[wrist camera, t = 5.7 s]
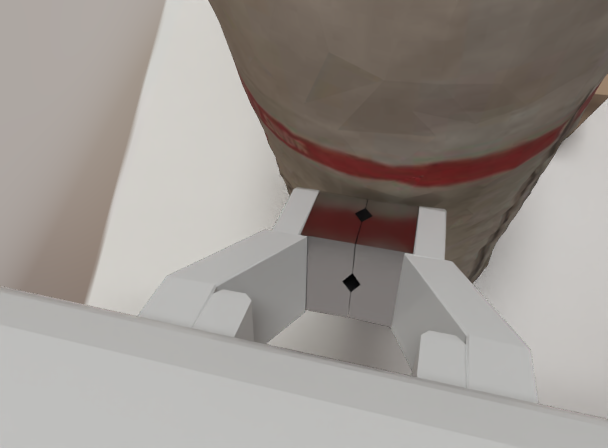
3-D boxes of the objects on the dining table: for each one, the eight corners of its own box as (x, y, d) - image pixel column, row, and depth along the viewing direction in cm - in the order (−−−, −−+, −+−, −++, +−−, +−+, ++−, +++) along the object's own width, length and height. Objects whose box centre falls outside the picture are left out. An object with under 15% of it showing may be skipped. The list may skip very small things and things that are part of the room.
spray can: (333, 121, 24) (128, -795, 6) (510, 149, 22) (1117, -1143, 4) (286, 287, 22) (-334, -327, 3) (478, 334, 20) (1727, -561, 1)
